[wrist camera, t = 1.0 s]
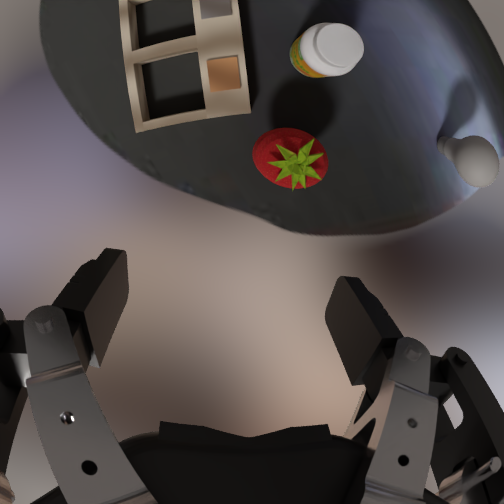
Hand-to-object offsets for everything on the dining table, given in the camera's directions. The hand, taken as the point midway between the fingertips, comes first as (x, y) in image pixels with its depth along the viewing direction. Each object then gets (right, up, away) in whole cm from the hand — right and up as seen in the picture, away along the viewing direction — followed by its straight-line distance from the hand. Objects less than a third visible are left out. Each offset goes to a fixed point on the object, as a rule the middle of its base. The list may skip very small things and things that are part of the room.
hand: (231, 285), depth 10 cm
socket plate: (-7, +23, +13) cm, 27 cm away
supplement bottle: (+7, +23, +14) cm, 28 cm away
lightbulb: (+26, +16, +19) cm, 36 cm away
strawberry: (+4, +13, +20) cm, 24 cm away
